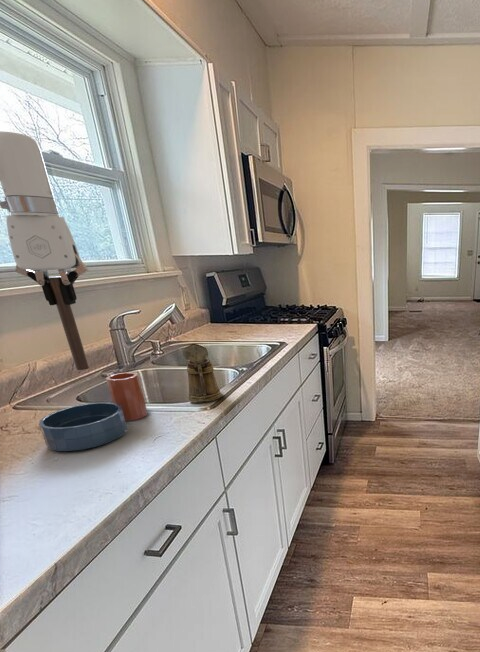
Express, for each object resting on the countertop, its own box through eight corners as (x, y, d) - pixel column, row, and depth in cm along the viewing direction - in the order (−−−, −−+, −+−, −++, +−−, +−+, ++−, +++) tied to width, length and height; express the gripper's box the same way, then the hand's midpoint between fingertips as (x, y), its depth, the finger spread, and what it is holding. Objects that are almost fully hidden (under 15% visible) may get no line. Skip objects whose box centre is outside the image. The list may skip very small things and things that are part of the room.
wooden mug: (187, 410, 109) (173, 345, 102) (189, 395, 120) (176, 335, 113) (222, 406, 112) (211, 342, 105) (220, 391, 123) (210, 332, 116)
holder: (114, 422, 102) (102, 381, 97) (122, 412, 108) (111, 373, 103) (143, 419, 103) (133, 378, 99) (150, 409, 109) (140, 371, 105)
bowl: (34, 458, 85) (24, 432, 82) (65, 428, 98) (57, 406, 96) (116, 448, 89) (109, 423, 86) (135, 421, 102) (129, 399, 100)
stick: (74, 370, 91) (45, 277, 83) (79, 367, 93) (50, 276, 85) (86, 369, 91) (58, 277, 83) (90, 366, 93) (63, 276, 86)
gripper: (-28, 206, 74) (9, 308, 81) (72, 207, 78) (99, 305, 85) (-4, 209, 81) (28, 303, 88) (87, 210, 84) (111, 300, 92)
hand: (63, 303), depth 86 cm, fingers closed on stick, 2 cm apart
